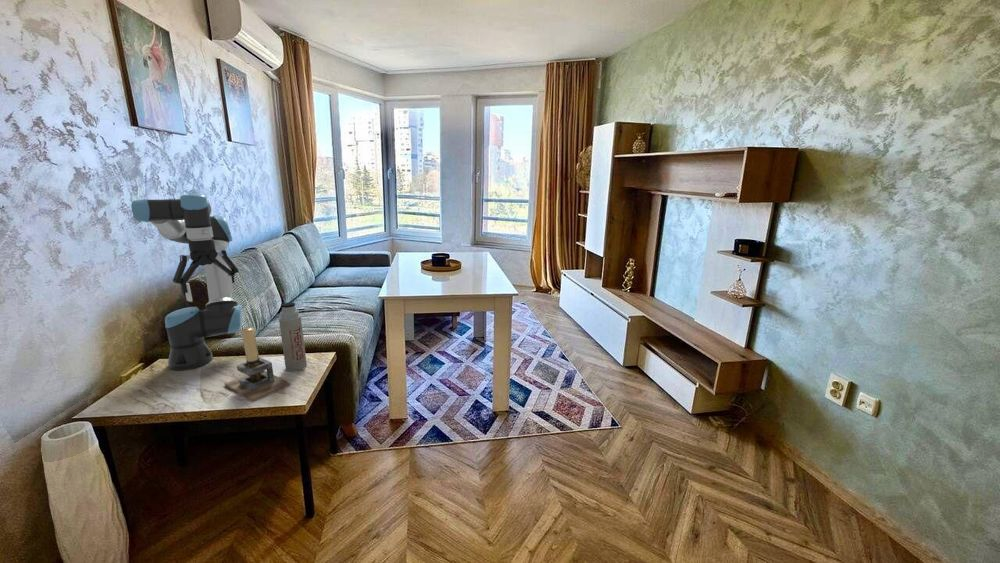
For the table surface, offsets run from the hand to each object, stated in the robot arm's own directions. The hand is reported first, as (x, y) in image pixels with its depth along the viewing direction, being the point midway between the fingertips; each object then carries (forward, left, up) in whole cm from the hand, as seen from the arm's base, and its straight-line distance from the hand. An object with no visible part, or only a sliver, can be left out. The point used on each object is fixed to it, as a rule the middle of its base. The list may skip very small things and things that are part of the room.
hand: (211, 296), depth 149 cm
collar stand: (+13, +5, -35) cm, 37 cm away
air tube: (+13, +5, -34) cm, 36 cm away
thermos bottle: (+11, +22, -35) cm, 43 cm away
